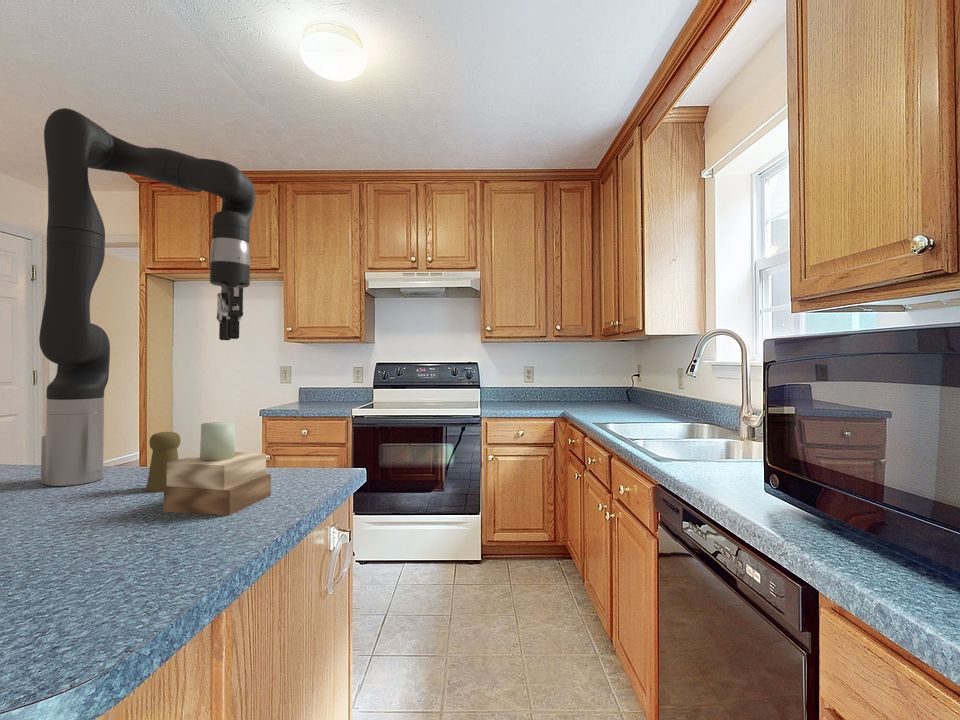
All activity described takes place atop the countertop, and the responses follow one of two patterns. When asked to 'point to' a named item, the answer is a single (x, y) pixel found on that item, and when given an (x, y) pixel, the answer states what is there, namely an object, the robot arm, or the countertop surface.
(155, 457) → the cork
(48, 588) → the countertop surface
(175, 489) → the tower base
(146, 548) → the countertop surface
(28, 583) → the countertop surface
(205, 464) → the tower top
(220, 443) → the pale green cylinder
